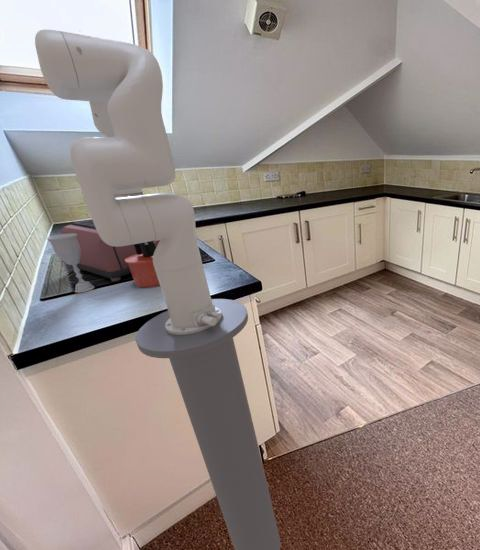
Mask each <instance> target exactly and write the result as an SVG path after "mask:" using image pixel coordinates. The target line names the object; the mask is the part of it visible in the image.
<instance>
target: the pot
mask: <svg viewBox="0 0 480 550" xmlns="http://www.w3.org/2000/svg"><path fill="white" fill-rule="evenodd" d="M128 265H129V268H130V271H131V274H130V275H131V277H132V279H133V282H134V285H135V286H136V287H137V288H153V287H158V286H160V284H159V281H158V278H157V274H156V271H155V268H154V265H153V262H148V263H141V264H128Z"/></svg>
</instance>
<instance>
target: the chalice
mask: <svg viewBox="0 0 480 550" xmlns="http://www.w3.org/2000/svg"><path fill="white" fill-rule="evenodd" d="M46 240H47V241H49V242H50V244H51V247H52V249H53V251H54V253H55V255H56V256H57V257H58V258H59V259H60V260H62V261H63V262H64V263H65V264H67V265H68V266H71V267H73V272H74V273H75V278H77V279H78V282H77V283H76V284H75V287H74V293H77V294H80V293H86V292H89V291H92V290H93V289H95V288H96V287H95V286H94V285H93V284H92V283H91V282H90V281H88V280H86V281H85V280H84V279H83V274H81V270H80V269H78V267H77V264H78V263H79V262H80V258H81V248H80V245H79V243H78V241H77V234H75V233H71V234H56V235H52V236H51V235H50V236H48V237H46Z"/></svg>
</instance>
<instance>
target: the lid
mask: <svg viewBox="0 0 480 550" xmlns="http://www.w3.org/2000/svg"><path fill="white" fill-rule="evenodd" d="M139 244H140V247H141V250H142V253H143V254H140V255H138V254H135V255H132V256H130V257H128V258H126V259H125V262H126V263H128V264H141V263H148V262H153V256H150V257H148V256H147V255H146V252H145V249H144V246H143V245H145V244H144V243H139Z"/></svg>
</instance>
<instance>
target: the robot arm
mask: <svg viewBox="0 0 480 550" xmlns="http://www.w3.org/2000/svg"><path fill="white" fill-rule="evenodd" d="M34 46H35V51H36V55H37V61H38V65H39V68H40V72H41V74H42V77H43V79H44V81H45V83H46V86H47V88H48V89H49V90H50V92H51V93H52V94H53V95H54V96H55V97H57V98H59V99H62V100H66V101H80V102H81V101H82V102H89V106H90V110H91V116H92V120H93V124H94V127H95V128H96V130H97V131H98V132H99V133H101V134H102V135H104V136H87V137H80V138H77V139H75V140H74V141H72V143H71V145H70V159H71V160H70V161H71V163H72V167H73V170H74V172H75V173H74V174H75V176H76V179H77V182H78V184H79V187H80V190H81V192H82V195H83V198H84V200H85V203H86V206H87V208H88V212H89V214H90V217H91V220H93V222H94V225H95V227H96V230H97V232H98V234H99V236H100V237H101V239H102V240H103V241H104V242H105V243H106V244H108V245H110V246H115V247H119V246H127V245H133V244H134V247H135V250H136V253H137V254H138V255H140V254H143V253H142V250H141V247H140V244H139V243H144V244H145V245H143V246H144V249H145V252H146V255H147V256H148V257H150V256H153V265H154V268H155V271H156V274H157V278H158V281H159V284H160V285H159V286H160V289H161V292H162V296H163V299H164V303H165V305H166V309H167V311H168V312H169V315H170V319H168V321H167V322H166V324H165V328H166V331H167V332H168V333H170V334H174V335H187V334H193V333H197V332H200V331H203V330H206V329H208V328H210V327H212V326H214V325H216V324H217V322H219V320H220V319H221V318H222V312H221V310H220V309H219V308H217V307H215V306H214V305H213V304H212V300H211V299H212V297H211V293H210V288H209V284H208V281H207V276H206V271H205V269H204V268H205V267H204V265H203V261H202V256H201V252H200V248H199V243H198V238H197V237H198V235H197V227H196V215H195V209H194V206H193V204H192V202H191V201H190V199H188V198H187V197H186V196H184V195H182V194H178V193H173V192H159V193H158V192H157V193H149V194H144V193H143V189H148V188H157V187H164V186H165V187H166V186H168V185H171V184H173V183H174V182H175V180H176V167H175V161H174V157H173V153H172V150H171V145H170V141H169V138H168V134H167V131H166V126H165V123H164V119H163V114H162V113H163V112H162V103H163V92H164V91H163V90H164V89H163V88H164V85H163V83H164V82H163V74H162V70H161V67H160V64H159V62H158V60H157V58H156V57H155V55H154V54H153V52H151V51H150V50H149V49H147V48H145V47H143V46H140V45H137V44H133V43H129V42H125V41H121V40H116V39H111V38H104V37H97V36H90V35H86V34H85V35H84V34H79V33H73V32H68V31H61V30H56V29H40V30H38V31H37V32H36V33H35V37H34ZM157 240H160V242H159V244H158V245H157V247H156V246H155V241H157Z"/></svg>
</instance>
